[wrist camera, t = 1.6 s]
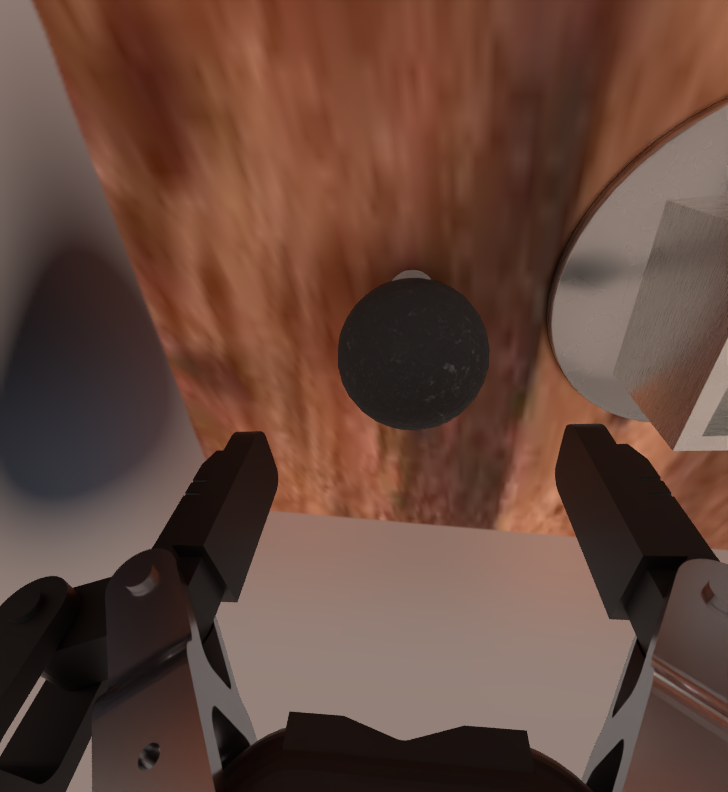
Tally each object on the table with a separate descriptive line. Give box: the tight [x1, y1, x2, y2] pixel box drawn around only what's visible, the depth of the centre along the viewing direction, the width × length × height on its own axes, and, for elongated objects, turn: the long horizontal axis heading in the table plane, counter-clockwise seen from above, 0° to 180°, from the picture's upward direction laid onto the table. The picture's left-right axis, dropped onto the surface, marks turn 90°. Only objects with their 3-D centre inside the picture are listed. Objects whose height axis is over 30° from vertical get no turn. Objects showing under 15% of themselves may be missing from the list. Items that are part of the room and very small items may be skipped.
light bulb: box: [338, 270, 489, 430], centre depth 16 cm, size 6×6×10 cm
